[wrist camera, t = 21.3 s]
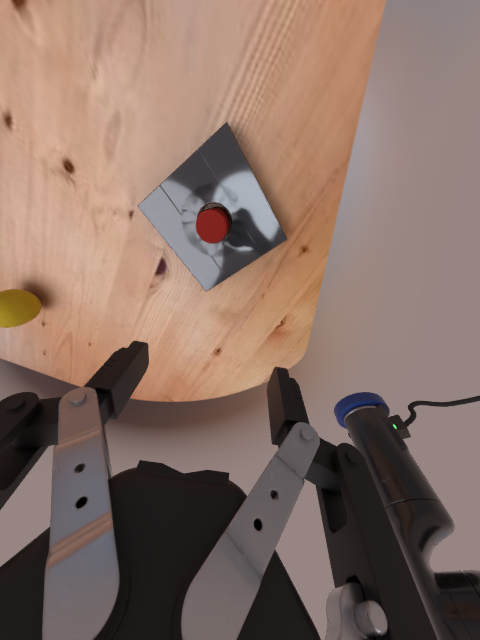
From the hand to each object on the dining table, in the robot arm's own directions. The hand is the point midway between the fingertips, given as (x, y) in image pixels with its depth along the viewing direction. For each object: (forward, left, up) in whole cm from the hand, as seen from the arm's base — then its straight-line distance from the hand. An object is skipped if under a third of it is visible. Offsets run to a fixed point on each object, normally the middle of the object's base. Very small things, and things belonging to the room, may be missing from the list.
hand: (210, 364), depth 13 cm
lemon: (+32, -14, -22) cm, 42 cm away
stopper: (-2, -6, -22) cm, 23 cm away
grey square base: (-2, -6, -22) cm, 23 cm away
